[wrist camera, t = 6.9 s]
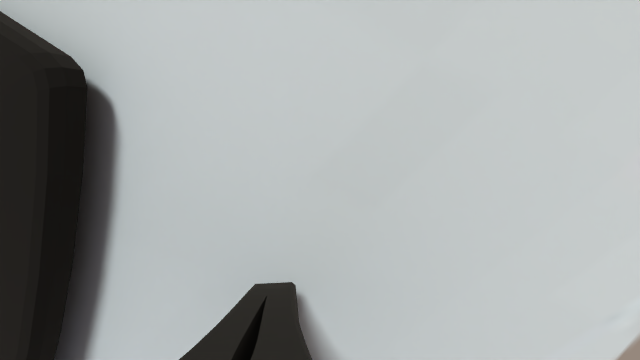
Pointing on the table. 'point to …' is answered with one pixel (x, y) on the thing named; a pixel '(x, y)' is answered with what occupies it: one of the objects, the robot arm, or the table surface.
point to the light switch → (37, 188)
